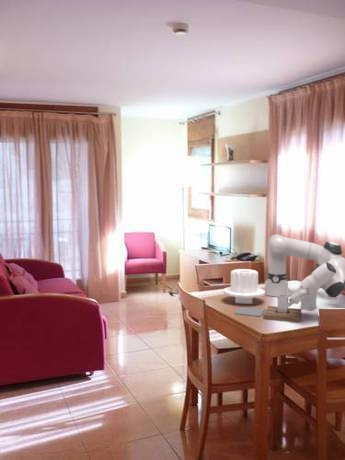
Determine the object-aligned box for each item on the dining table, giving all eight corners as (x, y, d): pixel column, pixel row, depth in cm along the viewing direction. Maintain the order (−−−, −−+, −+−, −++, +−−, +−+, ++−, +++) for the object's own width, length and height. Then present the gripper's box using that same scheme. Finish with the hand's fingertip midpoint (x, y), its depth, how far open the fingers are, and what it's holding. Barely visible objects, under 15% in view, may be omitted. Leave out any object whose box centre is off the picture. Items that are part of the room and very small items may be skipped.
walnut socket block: (268, 310, 248) (268, 305, 248) (301, 313, 241) (301, 309, 241) (263, 318, 231) (263, 314, 231) (298, 322, 225) (298, 317, 224)
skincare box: (306, 306, 257) (307, 281, 255) (316, 308, 252) (317, 282, 251) (300, 309, 250) (301, 283, 249) (310, 311, 246) (311, 285, 245)
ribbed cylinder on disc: (264, 308, 252) (265, 275, 251) (221, 305, 257) (222, 274, 256) (264, 297, 277) (265, 268, 275) (225, 295, 282) (225, 266, 280)
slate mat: (240, 307, 253) (240, 306, 253) (264, 310, 248) (264, 309, 248) (234, 314, 240) (234, 313, 240) (260, 316, 235) (260, 315, 235)
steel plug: (278, 314, 239) (279, 294, 238) (287, 315, 238) (288, 295, 237) (277, 316, 235) (277, 296, 234) (286, 317, 233) (287, 297, 232)
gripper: (311, 295, 219) (291, 312, 224) (313, 287, 238) (295, 303, 243) (302, 286, 221) (282, 303, 225) (305, 278, 240) (287, 294, 244)
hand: (289, 303), depth 234 cm, fingers open, 8 cm apart
